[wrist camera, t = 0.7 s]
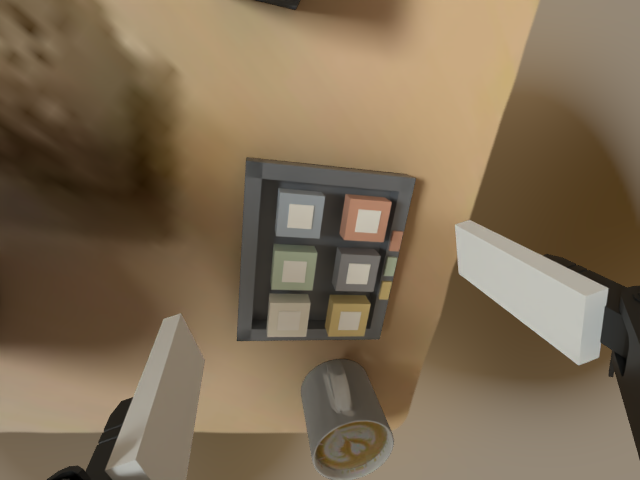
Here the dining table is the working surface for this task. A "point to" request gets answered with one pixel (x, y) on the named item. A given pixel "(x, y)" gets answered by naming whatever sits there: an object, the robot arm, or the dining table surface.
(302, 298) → the key cream
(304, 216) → the key slate
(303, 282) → the key sage
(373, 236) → the key terracotta
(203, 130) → the dining table surface
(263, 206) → the keypad board
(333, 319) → the key ochre
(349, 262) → the key charcoal
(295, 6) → the box
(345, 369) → the coffee mug
